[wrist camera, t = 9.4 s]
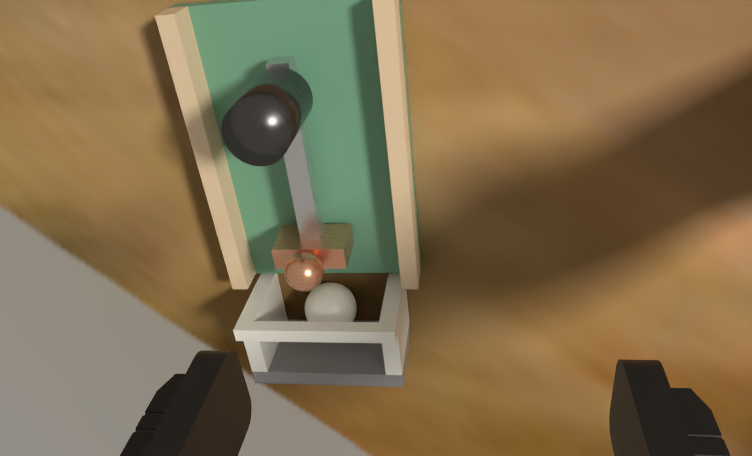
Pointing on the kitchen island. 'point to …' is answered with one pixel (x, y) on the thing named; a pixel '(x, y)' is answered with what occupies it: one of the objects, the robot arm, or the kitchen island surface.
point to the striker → (288, 169)
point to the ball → (330, 304)
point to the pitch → (324, 124)
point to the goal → (324, 341)
